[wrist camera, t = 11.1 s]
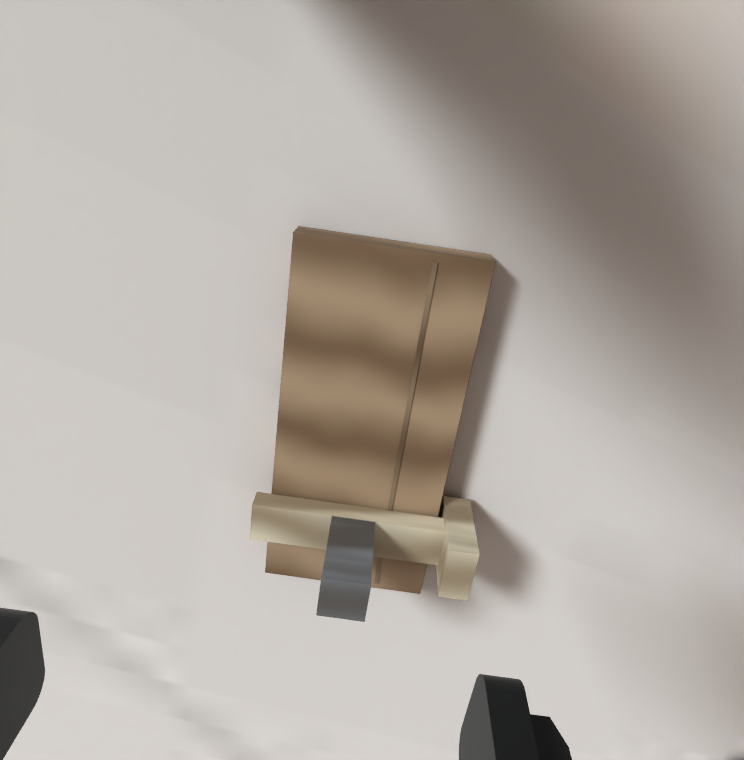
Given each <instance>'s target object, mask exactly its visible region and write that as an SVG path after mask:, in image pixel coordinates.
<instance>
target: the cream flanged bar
mask: <svg viewBox="0 0 744 760" xmlns="http://www.w3.org/2000/svg"><path fill="white" fill-rule="evenodd" d="M250 539H252V540H259V541H266V542H274V543H281V544H288V545H295V546H302V547H310V548H317V549H324V550H326V553H325V559H324V565H323V571H322V577H321V585H320V592H319V600H318V607H317V614H316V615H319V616H326V617H333V618H341V619H348V620H355V621H363V622H365V616H366V611H367V605H368V599H369V594H370V588H371V579H372V563H373V556H374V557H382V558H389V559H396V560H403V561H410V562H418V563H425V564H432V565H436V576H437V589H438V597H444V598H452V599H459V600H466V601H467V600H468V596H469V593H470V589H471V585H472V582H473V578H474V574H475V571H476V567H477V563H478V560H479V556H480V553H479V547H478V542H477V536H476V530H475V524H474V519H473V513H472V507H471V501H470V500H469V499H462V498H455V497H448V496H443V500H442V504H441V509H440V513H439V517H432V516H425V515H418V514H411V513H403V512H396V511H389V510H382V509H375V508H368V507H361V506H354V505H347V504H339V503H332V502H325V501H318V500H311V499H304V498H297V497H290V496H282V495H275V494H268V493H261V492H257V493H256V496H255V499H254V501H253V504H252V516H251V531H250Z"/></svg>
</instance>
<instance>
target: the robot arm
mask: <svg viewBox="0 0 744 760" xmlns="http://www.w3.org/2000/svg"><path fill="white" fill-rule="evenodd" d="M44 676H45V666H44V659H43V652H42V644H41V637H40V630H39V622H38V617H37V615H36V614H35V613H34V612H28V611H20V610H13V609H5V608H0V760H3V758H4V757H5V755H6V753H7V752H8V750H9V748H10V747H11V745H12V743H13V742H14V740H15V738H16V737H17V735H18V733H19V732H20V730H21V728H22V727H23V725H24V723H25V722H26V720H27V718H28V717H29V715H30V713H31V712H32V710H33V708H34V706H35V704H36V702H37V700H38V698H39V695H40V692H41V689H42V686H43V682H44ZM459 760H572V758H571V755H570V751H569V747H568V745H567V744H566V742H565V741H564V739H563V737H562V736H561V734H560V733H559V731H558V730H557V728H556V726H555V725H554V723H553V722H552V720H551V718H550V717H546V716H538V715H531V714H530V712H529V707H528V702H527V698H526V693H525V689H524V686H523V683H522V681H521V680H519V679H512V678H505V677H498V676H490V675H483V674H479V675H478V677H477V679H476V682H475V685H474V689H473V692H472V695H471V698H470V702H469V705H468V708H467V711H466V714H465V718H464V721H463V724H462V728H461V734H460V742H459Z"/></svg>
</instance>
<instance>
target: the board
mask: <svg viewBox="0 0 744 760" xmlns="http://www.w3.org/2000/svg"><path fill="white" fill-rule="evenodd" d="M495 263H496V262H495V261H494V259H493V257H492V256H491V255H490V254H483V253H476V252H469V251H463V250H456V249H449V248H442V247H436V246H429V245H422V244H416V243H409V242H402V241H395V240H389V239H382V238H375V237H368V236H362V235H355V234H348V233H342V232H335V231H328V230H321V229H315V228H308V227H301V226H298V227H297V229H296V230H295V231H294V232H293V242H292V254H291V267H290V279H289V291H288V303H287V315H286V327H285V339H284V351H283V363H282V375H281V387H280V399H279V411H278V423H277V435H276V447H275V460H274V472H273V484H272V494H275V495H282V496H290V497H297V498H304V499H311V500H318V501H325V502H332V503H339V504H347V505H354V506H361V507H368V508H375V509H382V510H389V511H396V512H403V513H411V514H418V515H425V516H432V517H438V513H439V509H440V505H441V500H442V496H443V491H444V487H445V483H446V478H447V474H448V469H449V465H450V461H451V456H452V452H453V447H454V443H455V439H456V434H457V430H458V425H459V421H460V417H461V412H462V408H463V403H464V399H465V395H466V390H467V386H468V381H469V377H470V373H471V368H472V364H473V359H474V355H475V351H476V346H477V342H478V337H479V333H480V329H481V324H482V320H483V315H484V311H485V307H486V302H487V298H488V293H489V289H490V285H491V280H492V276H493V271H494V267H495ZM325 553H326V550H324V549H317V548H310V547H302V546H295V545H288V544H281V543H274V542H268V544H267V556H266V568H265V572H266V573H273V574H280V575H287V576H295V577H302V578H309V579H316V580H321V577H322V571H323V565H324V559H325ZM426 566H427V564H425V563H418V562H410V561H403V560H396V559H389V558H382V557H374V556H373V563H372V579H371V587H374V588H382V589H389V590H396V591H403V592H411V593H418V594H420V593H421V588H422V584H423V579H424V575H425V571H426Z"/></svg>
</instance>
